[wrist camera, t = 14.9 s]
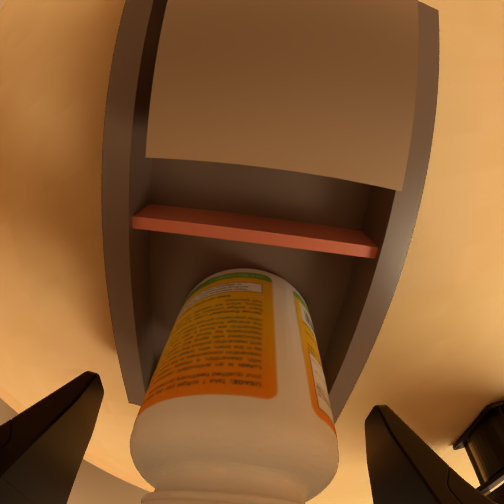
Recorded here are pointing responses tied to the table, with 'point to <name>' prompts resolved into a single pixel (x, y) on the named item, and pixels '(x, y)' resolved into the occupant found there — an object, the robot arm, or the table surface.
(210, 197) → the tray
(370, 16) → the walnut block
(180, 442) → the supplement bottle
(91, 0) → the table surface
